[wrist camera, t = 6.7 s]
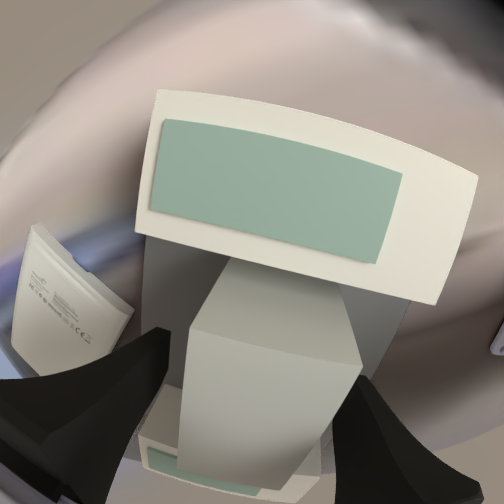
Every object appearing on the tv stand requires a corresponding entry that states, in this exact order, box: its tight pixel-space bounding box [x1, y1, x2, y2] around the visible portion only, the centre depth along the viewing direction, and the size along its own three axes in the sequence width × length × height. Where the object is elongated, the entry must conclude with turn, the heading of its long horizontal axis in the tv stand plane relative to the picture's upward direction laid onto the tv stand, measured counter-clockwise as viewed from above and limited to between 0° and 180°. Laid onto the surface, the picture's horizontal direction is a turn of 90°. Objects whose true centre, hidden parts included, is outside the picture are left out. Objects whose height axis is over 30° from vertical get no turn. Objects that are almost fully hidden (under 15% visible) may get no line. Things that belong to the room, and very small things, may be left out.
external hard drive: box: [11, 223, 135, 376], centre depth 16 cm, size 2×8×12 cm
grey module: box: [177, 257, 363, 491], centre depth 10 cm, size 4×7×6 cm, turn 168°
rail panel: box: [135, 89, 479, 503], centre depth 12 cm, size 12×18×5 cm, turn 168°
